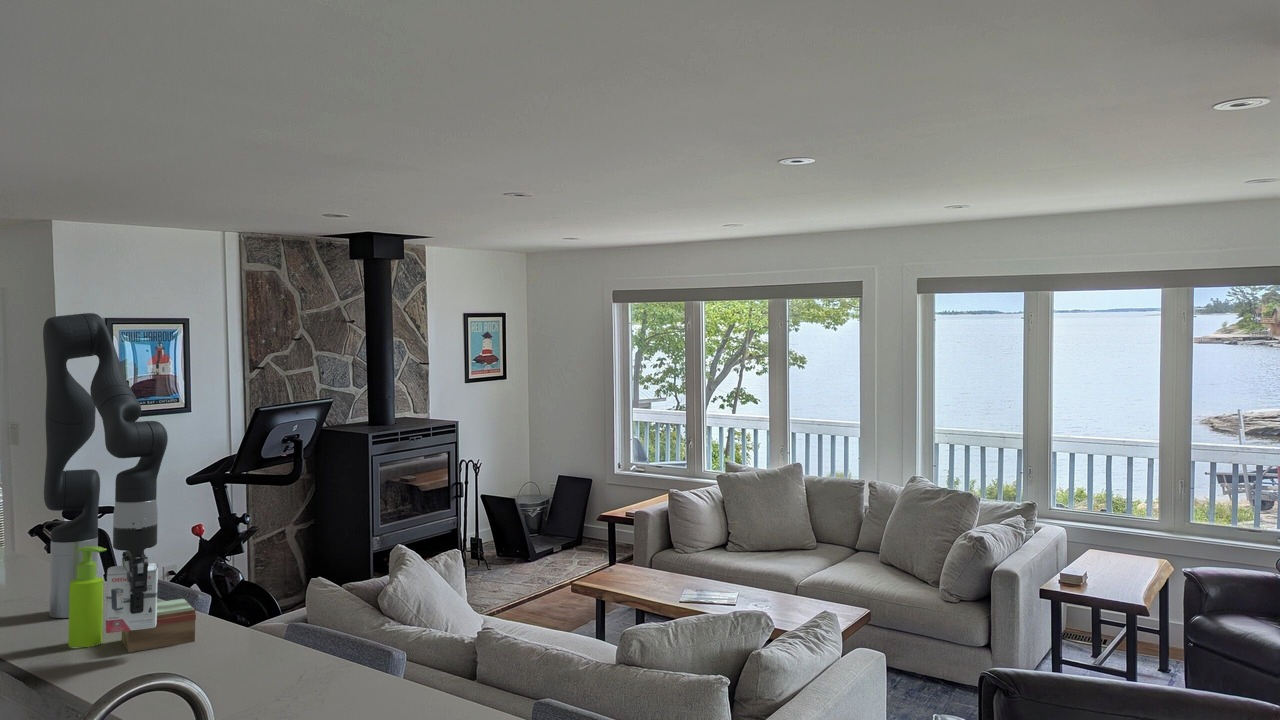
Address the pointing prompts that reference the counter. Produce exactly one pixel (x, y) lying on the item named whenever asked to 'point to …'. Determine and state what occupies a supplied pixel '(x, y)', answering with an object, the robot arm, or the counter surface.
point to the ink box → (120, 601)
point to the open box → (164, 627)
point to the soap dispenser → (86, 602)
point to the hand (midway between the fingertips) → (134, 608)
